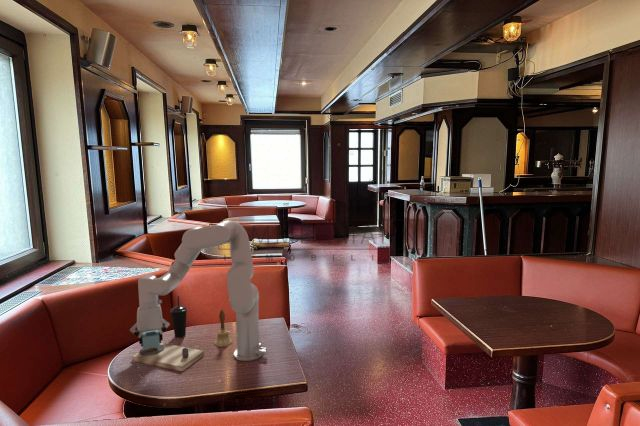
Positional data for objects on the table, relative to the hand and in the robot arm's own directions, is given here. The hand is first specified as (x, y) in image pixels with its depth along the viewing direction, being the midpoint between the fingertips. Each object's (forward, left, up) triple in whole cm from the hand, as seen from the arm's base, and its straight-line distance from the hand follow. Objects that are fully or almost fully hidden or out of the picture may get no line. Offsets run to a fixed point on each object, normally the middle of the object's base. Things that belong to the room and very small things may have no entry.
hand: (151, 343), depth 163 cm
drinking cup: (+1, -19, -5) cm, 20 cm away
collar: (0, 0, -1) cm, 1 cm away
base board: (-9, 0, -5) cm, 10 cm away
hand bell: (-23, -20, -5) cm, 31 cm away
